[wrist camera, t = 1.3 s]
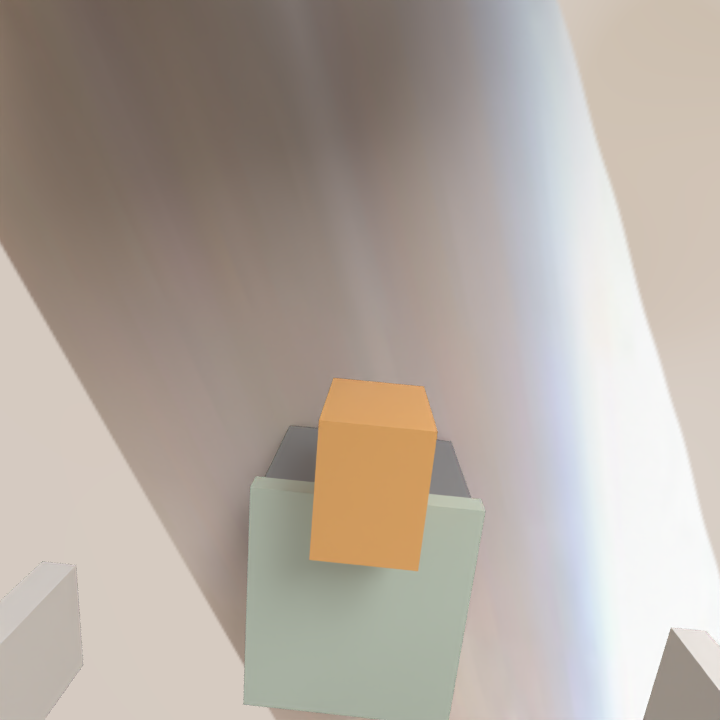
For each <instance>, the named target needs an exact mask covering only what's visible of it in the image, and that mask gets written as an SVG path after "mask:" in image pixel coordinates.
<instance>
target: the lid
mask: <svg viewBox="0 0 720 720" xmlns="http://www.w3.org/2000/svg"><path fill="white" fill-rule="evenodd" d="M437 433H438V431H437V428H436V425H435V421H434V418H433V415H432V412H431V408H430V405H429V402H428V398H427V395H426V392H425V389H424V386H413V385H403V384H392V383H382V382H372V381H361V380H351V379H341V378H333V381H332V384H331V387H330V390H329V392H328V395H327V398H326V401H325V404H324V407H323V410H322V413H321V416H320V419H319V427H318V441H317V456H316V470H315V482H307V481H297V480H287V479H277V478H267V477H257V476H256V477H255V479H254V481H253V483H252V485H251V487H250V508H249V540H248V573H247V605H246V638H245V672H244V673H245V674H244V703H243V704H244V705H253V706H262V707H271V708H280V709H289V710H298V711H307V712H316V713H325V714H334V715H343V716H352V717H361V718H370V719H379V720H449V715H450V710H451V704H452V698H453V693H454V687H455V681H456V676H457V670H458V664H459V659H460V653H461V647H462V642H463V636H464V630H465V625H466V619H467V613H468V608H469V602H470V596H471V591H472V585H473V579H474V574H475V568H476V562H477V557H478V551H479V545H480V540H481V534H482V528H483V523H484V517H485V509H484V506H483V503H482V501H481V499H475V498H465V497H455V496H445V495H436V494H429V490H430V483H431V476H432V468H433V461H434V454H435V447H436V440H437Z"/></svg>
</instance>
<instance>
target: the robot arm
mask: <svg viewBox="0 0 720 720" xmlns="http://www.w3.org/2000/svg"><path fill="white" fill-rule="evenodd" d="M76 571H77V570H76V565H72V564H61V563H53V562H41V563H40V564H39V565H38V566H37V567H36V568H35V569H34V570H33V571H31V572H30V573H29V574H28V575H27V576H26V577H25V578H24V579H23V580H22V581H21V582H20V583H19V584H18V585H16V586H15V587H14V588H13V589H12V590H11V591H10V592H9V593H8V594H7V595H6V596H5V597H4V598H3V599H1V601H0V720H45V718H46V717H47V715H48V714H49V713H50V711H51V710H52V708H53V707H54V706H55V704H56V703H57V701H58V700H59V698H60V697H61V696H62V694H63V693H64V691H65V690H66V689H67V687H68V686H69V684H70V683H71V681H72V680H73V679H74V677H75V676H76V675H77V673H78V672H79V670H80V669H81V667H82V666H83V655H82V641H81V626H80V612H79V599H78V584H77V572H76ZM643 720H720V646H719V645H718V644H717V643H716V641H715V640H714V639H713V638H712V637H711V636H710V634H709V633H708V632H707V631H701V630H691V629H682V628H672V627H671V629H670V633H669V636H668V639H667V643H666V646H665V649H664V652H663V656H662V659H661V662H660V666H659V669H658V672H657V675H656V679H655V682H654V685H653V689H652V692H651V695H650V699H649V702H648V705H647V708H646V712H645V715H644V718H643Z"/></svg>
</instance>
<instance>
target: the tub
mask: <svg viewBox="0 0 720 720" xmlns="http://www.w3.org/2000/svg"><path fill="white" fill-rule="evenodd" d="M317 441H318V428H309V427H299V426H290V427H289V429H288V431H287V433H286V435H285V437H284V439H283V441H282V443H281V445H280V447H279V449H278V451H277V453H276V455H275V457H274V459H273V461H272V463H271V466H270V468H269V470H268V472H267V474H266V476H265V477H267V478H277V479H287V480H297V481H307V482H315V470H316V456H317ZM429 494H436V495H445V496H455V497H465V498H471V496H470V493H469V490H468V488H467V485H466V482H465V479H464V476H463V474H462V471H461V468H460V465H459V462H458V459H457V457H456V454H455V451H454V448H453V445H452V443H451V441H440V440H436V447H435V454H434V461H433V468H432V476H431V483H430V490H429Z"/></svg>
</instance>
